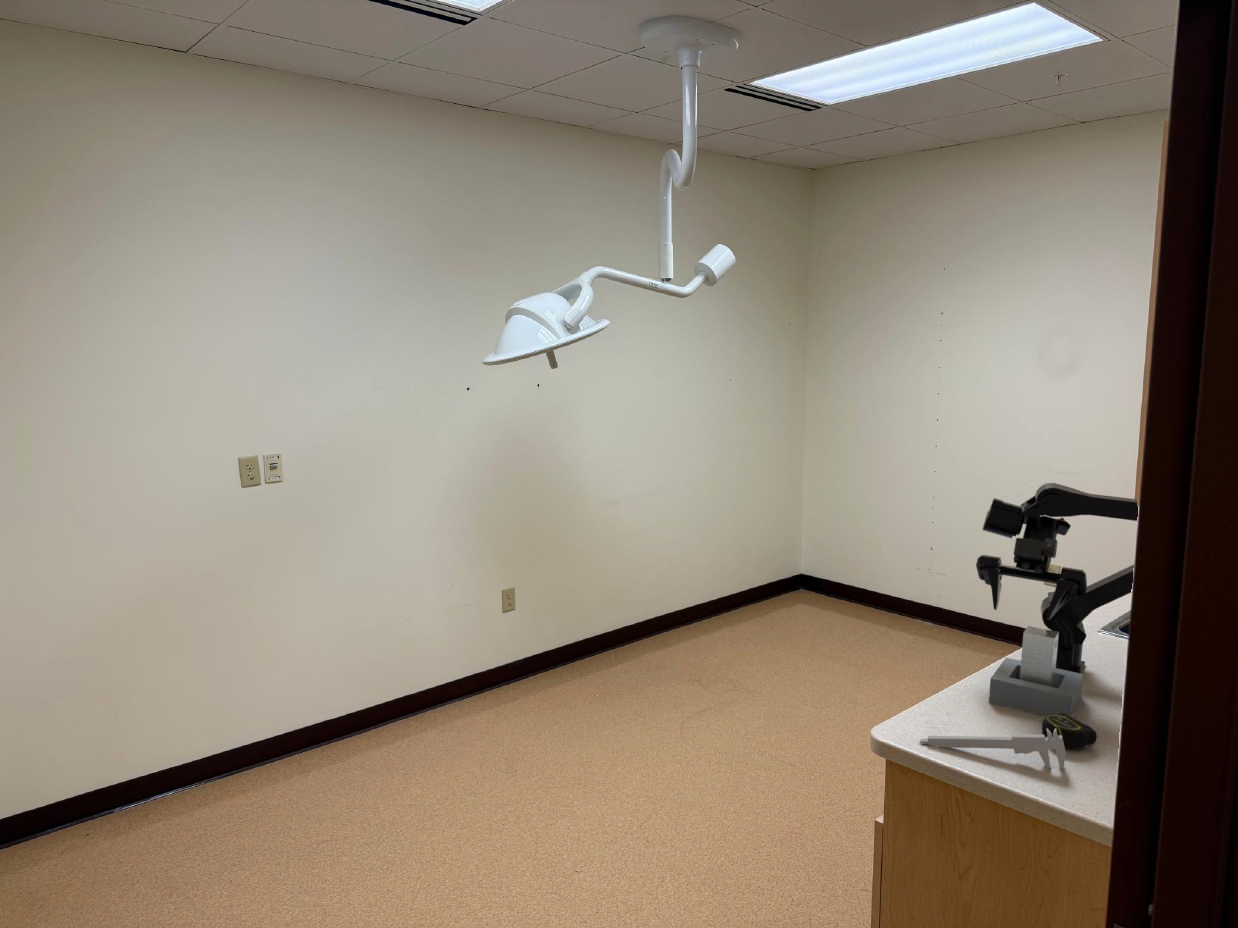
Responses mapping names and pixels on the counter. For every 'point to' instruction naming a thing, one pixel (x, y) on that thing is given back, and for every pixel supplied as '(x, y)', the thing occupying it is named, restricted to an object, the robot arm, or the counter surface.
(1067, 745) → the tape measure
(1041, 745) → the caliper
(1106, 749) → the counter surface
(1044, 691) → the block
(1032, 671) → the light gray rectangular block
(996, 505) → the robot arm
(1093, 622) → the counter surface
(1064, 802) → the counter surface
